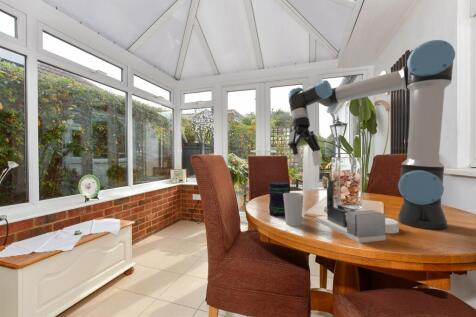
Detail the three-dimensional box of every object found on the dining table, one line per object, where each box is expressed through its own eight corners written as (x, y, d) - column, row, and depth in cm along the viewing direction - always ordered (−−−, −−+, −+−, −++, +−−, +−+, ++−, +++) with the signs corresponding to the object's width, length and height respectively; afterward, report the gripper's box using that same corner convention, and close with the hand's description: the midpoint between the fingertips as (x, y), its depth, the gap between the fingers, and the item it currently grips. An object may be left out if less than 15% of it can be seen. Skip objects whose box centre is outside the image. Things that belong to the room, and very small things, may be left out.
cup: (304, 227, 88) (304, 196, 88) (283, 226, 89) (283, 195, 89) (302, 221, 96) (302, 192, 96) (283, 220, 97) (283, 192, 97)
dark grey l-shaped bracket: (324, 213, 96) (323, 180, 96) (331, 213, 97) (330, 180, 97) (349, 225, 81) (349, 185, 81) (357, 224, 81) (357, 184, 81)
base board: (315, 220, 97) (315, 216, 97) (336, 218, 99) (336, 215, 99) (358, 242, 72) (358, 238, 72) (385, 240, 74) (385, 235, 74)
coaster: (364, 230, 84) (364, 220, 84) (370, 223, 92) (370, 215, 92) (397, 236, 78) (397, 226, 78) (400, 228, 85) (400, 219, 85)
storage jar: (290, 217, 101) (289, 184, 101) (268, 216, 104) (267, 183, 103) (290, 212, 111) (290, 181, 111) (270, 211, 113) (269, 181, 113)
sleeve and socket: (322, 220, 92) (322, 202, 92) (344, 218, 94) (344, 201, 94) (358, 237, 72) (358, 215, 72) (385, 235, 74) (385, 213, 74)
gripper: (310, 127, 117) (317, 167, 111) (276, 117, 102) (282, 162, 96) (322, 122, 111) (331, 163, 105) (288, 110, 97) (296, 158, 91)
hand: (308, 163), depth 101 cm, fingers open, 13 cm apart
